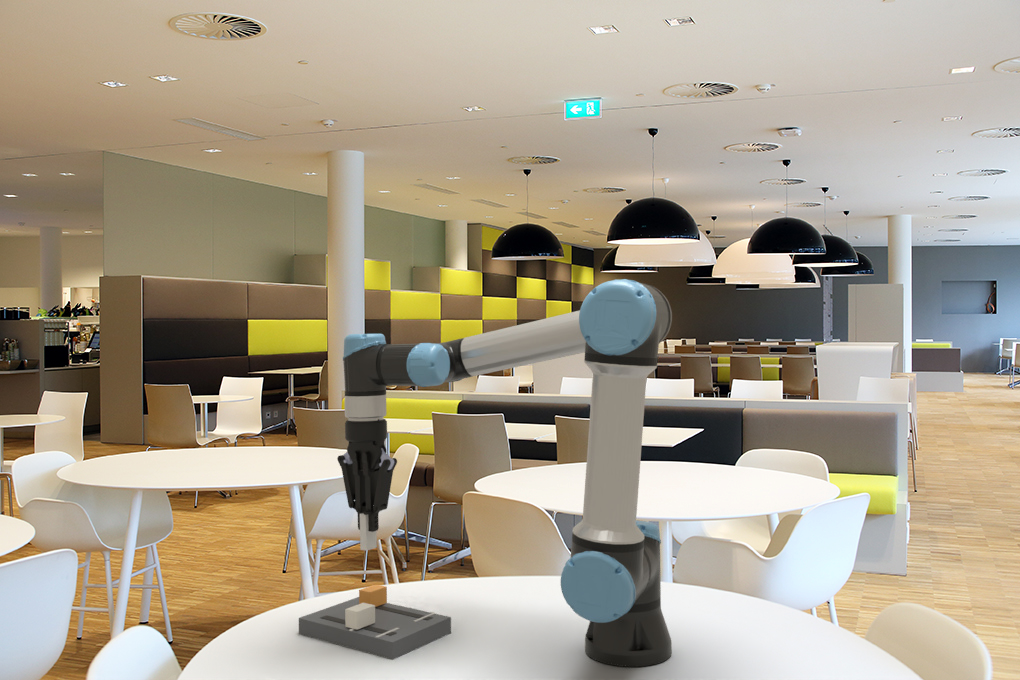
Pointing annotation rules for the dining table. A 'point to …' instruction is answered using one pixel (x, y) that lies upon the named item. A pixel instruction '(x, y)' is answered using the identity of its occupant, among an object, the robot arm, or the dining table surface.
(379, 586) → the fader orange
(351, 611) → the fader cream
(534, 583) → the dining table surface
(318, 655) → the dining table surface
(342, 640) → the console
